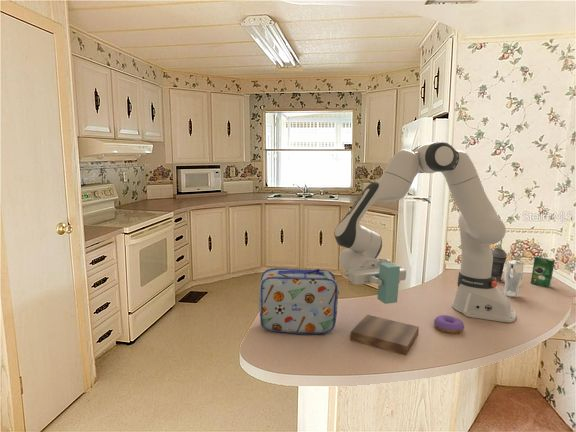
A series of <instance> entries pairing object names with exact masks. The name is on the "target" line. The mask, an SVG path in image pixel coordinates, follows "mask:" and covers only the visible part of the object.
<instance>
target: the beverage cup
mask: <svg viewBox="0 0 576 432" xmlns="http://www.w3.org/2000/svg"><path fill="white" fill-rule="evenodd" d="M502 243H503V239H502V240H501V241H500V244H499V247H497V248H494V249H491V252H492V255H493V263H492V272H491V276H492V277H493V278H496V282H497V281H498V282H499V281H500V282H501V280H502V276H503V272H504V269H505V264H506V260H507V253H506V251H505V250H504V249H503V248H502Z"/></svg>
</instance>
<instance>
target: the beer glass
mask: <svg viewBox="0 0 576 432" xmlns="http://www.w3.org/2000/svg"><path fill="white" fill-rule="evenodd" d="M503 272H504V275H503V276H504V288H503V291H502V293H503V294H504V295H506V296H507V297H509V298H514V299H516V298H519V294H520V293H519V288H520V284H521V282H522V279H523V275H524V274H523V273H524V262H523V261H521V260H516V259H506V261H505V264H504V269H503Z"/></svg>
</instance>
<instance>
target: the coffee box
mask: <svg viewBox="0 0 576 432" xmlns="http://www.w3.org/2000/svg"><path fill="white" fill-rule="evenodd" d="M555 261H556V260H555V259H552V258H551V259H550V258H546V257H540V256H534V261H533V266H532V272H531V279H530V280H531V281H530V284H533V285H538V286H540V287H541V286H542V287H545V288H550V287H551V285H552V280H553V273H554V268H555Z"/></svg>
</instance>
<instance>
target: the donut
mask: <svg viewBox="0 0 576 432" xmlns="http://www.w3.org/2000/svg"><path fill="white" fill-rule="evenodd" d="M433 321H434V322H433V324H434V326H435V328H436V329H437V330H438V331H441V332H444V333H445V334H447V333H448V334H454V335H455V334H459V333H460V334H461V333H462V332H463V331H464V330H465V323H464V322H463V320H461V319H459V318H458V317H455V316H453V315H452V316H451V315H448V314H441V315H438V316H436V317H435V318H434V320H433Z"/></svg>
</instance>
